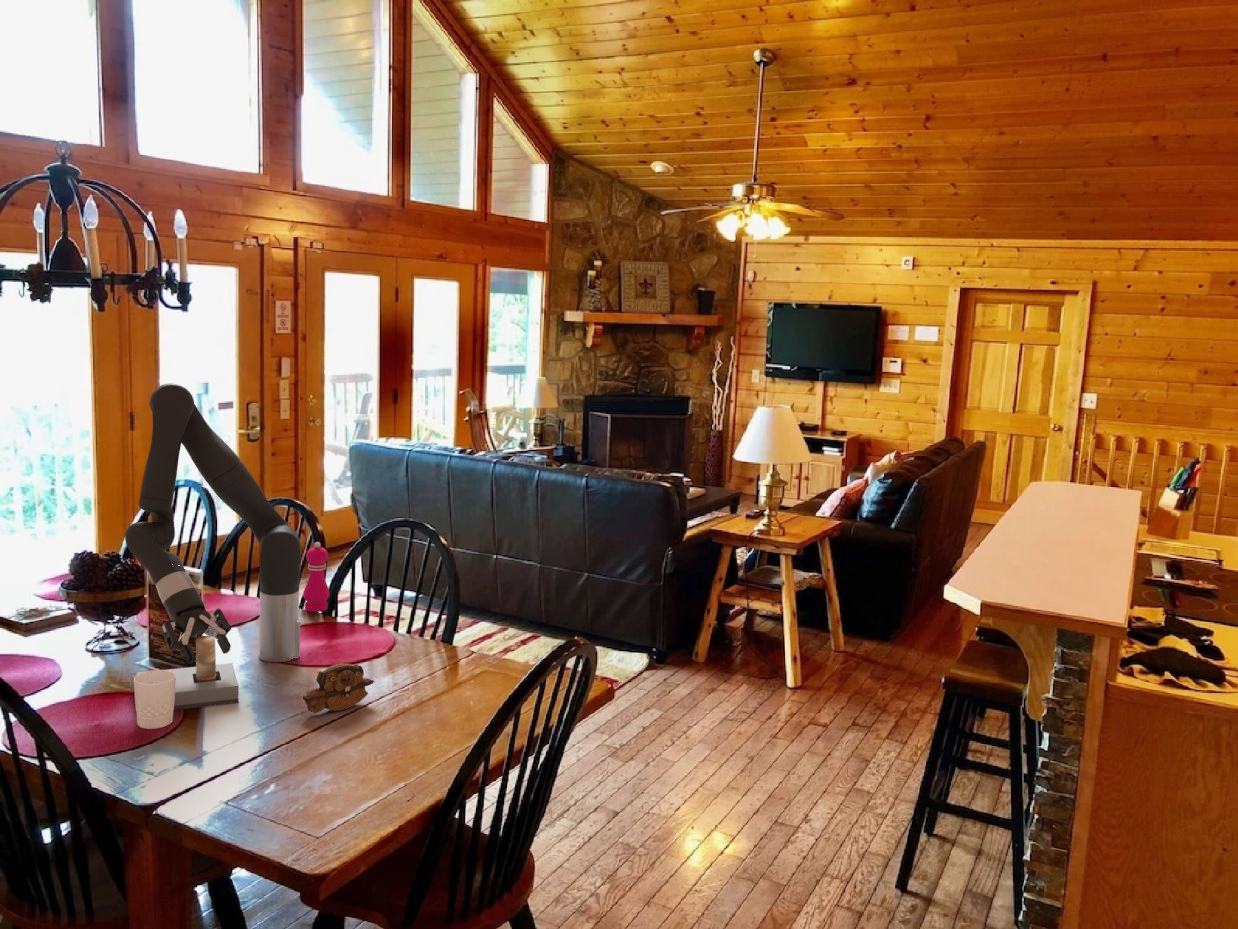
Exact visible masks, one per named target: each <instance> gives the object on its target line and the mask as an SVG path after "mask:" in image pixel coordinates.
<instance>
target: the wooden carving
mask: <svg viewBox="0 0 1238 929" xmlns="http://www.w3.org/2000/svg"><path fill="white" fill-rule="evenodd" d="M364 673H365V672H364V669H363V667H362V665H359V664H357V663H355V664H351V663H337V664H333V665H330V666H329V667H327V668H325V669H324V670H323V671H321V670H318V674H317V676H316V683H318V686H319V687H317V688H313V689H310V690H308V691H306V692H305V693H304V694H303V695H302V700H303V701H304V702H305V704H306V708H307V710H308V712H309V713H313V714H318V713H320V712H322V711H323V710H329V711H334V712H335V711H343V710H347V709H348V708H352V707H354V706H355V705H357V704H359V703H360V702H361V701H362V700H364V698H366V697H367V696H368V694H369V692H368V691H367V690H366V687H367V686H371V685H372V684H374V679H370V678H368V677H367V678H366V677H365V678H364Z"/></svg>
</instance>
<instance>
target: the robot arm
mask: <svg viewBox="0 0 1238 929" xmlns="http://www.w3.org/2000/svg"><path fill="white" fill-rule="evenodd" d="M149 407H150V410H151V412H152V415H151V416H152V430H151V431H152V432H151V433H152V435H151V442H150V448H149V452H148V456H147V460H146V463H145V467H144V471H143V476H142V480H141V486H140V493H139V498H138V499H139V500H138V507H139V508H140V509H141V510H142V511H145V512H147V513H150V518H151V521H137V522H133V523H132V524H130V525H129V526H128V527H127V529H126V531H125V536H124V537H125V538H124V540H125V544H126V547H127V549H128V550H129V552H130V553H131V554H132V556H133V557H134V558H135V559H136V560H137V561H138V562H139V564H140V565H141V566H142V567H143V568H144V569H145V570H147V572H148V573H149V575H150V577H151V579H152V582H153V584H154V585H155V587H156V590H157V594H158V597H159V598H160V600H161V602H162V605H163V606H164V608H165V610H166V613H167V615H168V616H169V619H170V620H171V621H172V622H171V621H169V620H166V621H165V622H164V623H163V625H162V626H161V627H160V630H161V633H162V635H163V637H164V639H165V642H166V645H167V647H168V649H169V650H170V651H173V650H179V651H180V654H181V655H182V656H183V659H184V661H186V663H188V664H190V665H191V664H193V663H195V662H196V654H195V653H194V652H193V649H192V647H191V645H190V644H189V639H190V638H194V637H196V636H201V635H202V636H203V635H204V634H205V636H213V637H215V640H216V642H217V644H218V646H219V648H220V650H221V652H222V653H223V654H224V655H225V654H228V653H229V652H230V650H231V648H232V645H231V643H230V641H229V639H228V637H227V635H228V633H229V632H230V631H231V630H232V626H231V624H230V623H229V622H228V620H227V618H226V616H225V614H224V613H223V611H222V609H220V608H216V609H215V610H214V611H211V612H209V611H208V610H206V607H205V603H204V601H203V599H202V597H201V595H200V594H199V595H200V596H199V595H198V593H199V592H198V593H197V591H198V589H197V588H195V587H196V585H195V583H194V581H193V580H192V578H191V577H190V575H189V574H188V572H187V570H186V568H185V566H184V564H183V563H182V561H181V559H180V557H179V556H178V555H177V554H176V553H173V552H169V551H167V550H169V548H170V547H171V546H172V545H173V543H174V540H175V536H176V529H175V521H174V520H175V518H174V510H173V501H174V495H175V488H176V483H177V476H178V466H179V459H180V451H181V447H182V445H183V447H184V448H185V450H186V452H187V453H188V455H189V457H190V459H191V460H192V462H193V463H194V464H193V465H195V467H196V469H197V471H198V472H199V473H200V475H201V476H202V478H203V480H204V481H205V482H206V483H207V484H208V486H209V487H210V488H211V489H212V491H213V492H214V493H215V494H216V496H217V497H218V498H219V499H220V501H222V503H224V504H225V505H226V506H228V508H230V510H232V511H233V512H234V513H236V514H237V515H238V516H239V517H240V518H241V519H242V520H243V521H244V523H245V524H246V526H248V528H249V529H250V531H251V532H252V534H253V535H254V537H255V538H256V540H257V542H258V544H259V546H260V556H259V558H260V560H259V561H260V562H259V563H260V565H259V566H260V567H259V569H260V570H259V639H258V640H259V643H258V644H259V645H258V646H259V647H258V648H259V649H258V650H259V651H258V652H259V654H258V656H259V659H260V660H261V661H264V662H267V663H268V662H269V663H282V662H283V663H285V662H288V661H289V662H290V661H291V660H290V659H292V658H294V657H299V656H300V657H301V655H300V654H301V652H300V651H301V621H300V619H299V618H300V616H299V614H300V605H299V604H300V581H301V555H302V554H301V542H300V537H299V535H298V533H297V532H296V530H295V529H294V528H293V527H292V526H291V525H290V524H289V523H288V521H286V520H285V519H284V518H283V516H281V514H280V513H279V512H278V511H277V510H276V508H274V506H272V504H271V503H270V501H269V500H268V499H267V497H266V495H265V494H264V492H263V490H262V488H261V487H260V486H259V483H258V482H257V480H256V479H255V477H254V476H253V475H252V473H251V472H250V470H249V469H248V467H247V466H246V465H245V464H244V462H243V461H242V460H241V459H240V457H239V456H238V455H237V454H236V453H235V451H233V449H232V448H231V447H230V445H228V444H227V442H225V441H224V440H223V439H222V438H221V437H220V436H219V435H218V434H217V433H216V432H215V431H214V430H213V429H212V427H210V426H209V424H208V422H206V420H205V418H204V416H203V415H202V413H201V412H200V410H199V408H198V407H197V405H196V404H195V400H194V397H193V394H192V393H191V391H189V390H188V388H186V387H185V386H183V385H181V384H178V383H164V384H161V385H159V386H157V387H156V388H155V389H154V390H153V391H152V392H151V394H150V396H149ZM172 564H173V565H172ZM178 565H180V566H178ZM184 568H185V569H184ZM185 570H186V571H185ZM186 572H187V573H186ZM194 585H195V586H194ZM196 589H197V590H196ZM175 630H176V631H178V632H180V635H179V638H178V637H177V635H176V632H175ZM292 660H293V659H292Z"/></svg>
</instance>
